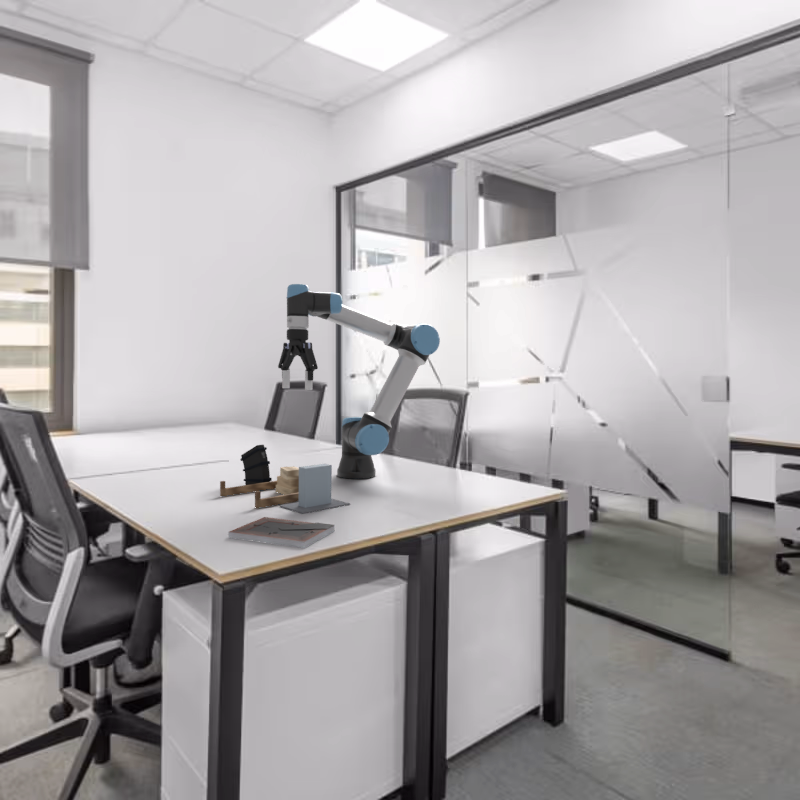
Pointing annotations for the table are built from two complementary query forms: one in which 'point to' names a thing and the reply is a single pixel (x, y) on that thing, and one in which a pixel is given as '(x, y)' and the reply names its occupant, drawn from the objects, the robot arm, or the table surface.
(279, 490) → the block
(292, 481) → the block
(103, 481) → the table surface
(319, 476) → the pale blue chunky brick
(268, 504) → the rack
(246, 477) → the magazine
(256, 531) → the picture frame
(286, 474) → the offcut top
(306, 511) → the mat
